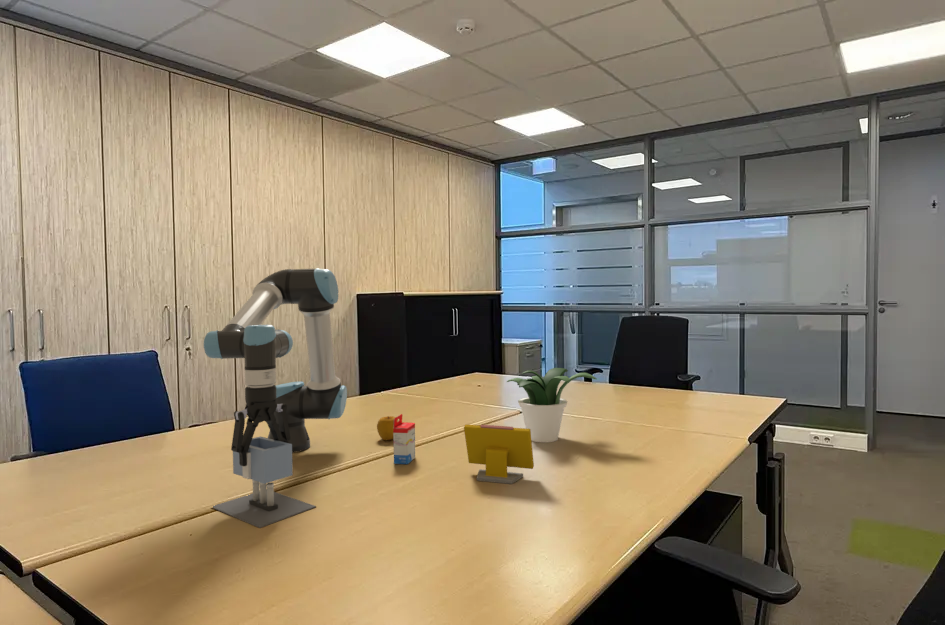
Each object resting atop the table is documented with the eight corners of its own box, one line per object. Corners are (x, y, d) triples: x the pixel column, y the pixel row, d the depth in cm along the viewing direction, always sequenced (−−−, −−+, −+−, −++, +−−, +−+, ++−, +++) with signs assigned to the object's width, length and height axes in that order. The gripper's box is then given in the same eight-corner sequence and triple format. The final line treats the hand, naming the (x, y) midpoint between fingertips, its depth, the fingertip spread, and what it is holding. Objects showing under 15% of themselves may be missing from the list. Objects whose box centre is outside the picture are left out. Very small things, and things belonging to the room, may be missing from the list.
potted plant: (591, 453, 191) (590, 378, 190) (492, 445, 203) (491, 374, 203) (603, 432, 221) (603, 367, 220) (516, 425, 233) (516, 364, 232)
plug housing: (233, 473, 147) (232, 442, 146) (261, 465, 153) (260, 436, 153) (264, 483, 138) (263, 451, 138) (292, 475, 144) (291, 444, 144)
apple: (393, 443, 208) (392, 419, 207) (372, 441, 211) (372, 418, 210) (403, 437, 216) (403, 414, 216) (383, 436, 219) (383, 413, 218)
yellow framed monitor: (534, 477, 168) (533, 424, 167) (527, 485, 160) (527, 430, 160) (470, 471, 174) (469, 420, 174) (461, 479, 167) (460, 425, 166)
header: (211, 507, 146) (210, 481, 146) (266, 490, 159) (266, 466, 159) (259, 528, 133) (259, 499, 133) (316, 507, 146) (315, 481, 145)
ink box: (407, 464, 181) (407, 419, 181) (393, 464, 182) (392, 418, 182) (415, 457, 190) (415, 413, 189) (401, 456, 191) (401, 413, 190)
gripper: (230, 392, 134) (232, 487, 135) (304, 381, 151) (305, 466, 152) (213, 389, 139) (215, 481, 140) (287, 379, 156) (288, 461, 156)
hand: (262, 473), depth 146 cm, fingers closed on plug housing, 8 cm apart
